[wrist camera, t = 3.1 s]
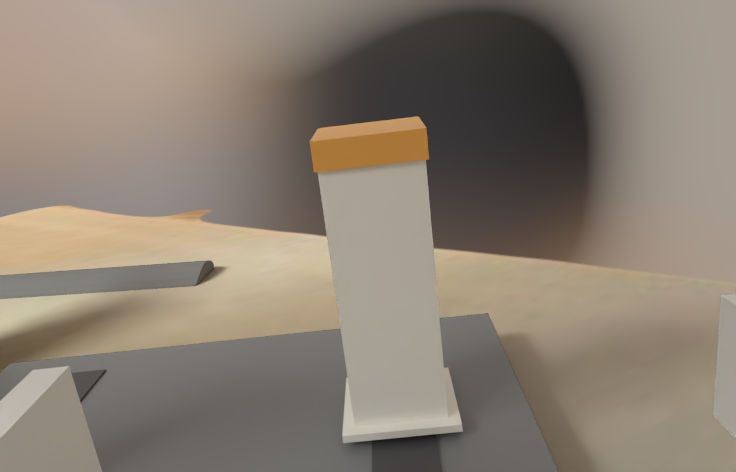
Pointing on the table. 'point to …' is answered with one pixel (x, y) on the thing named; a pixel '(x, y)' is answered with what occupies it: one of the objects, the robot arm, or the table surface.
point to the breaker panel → (290, 407)
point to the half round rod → (104, 279)
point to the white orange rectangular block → (385, 279)
